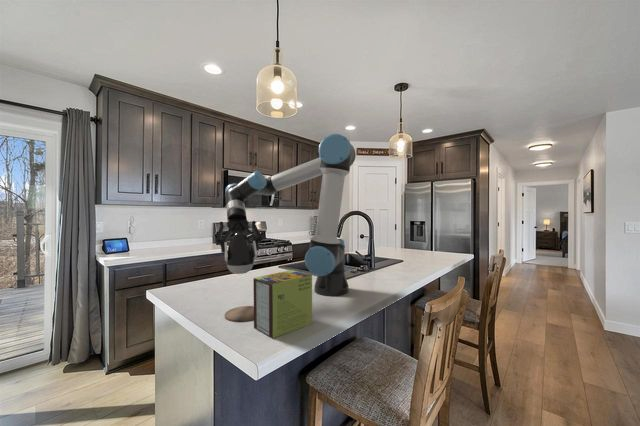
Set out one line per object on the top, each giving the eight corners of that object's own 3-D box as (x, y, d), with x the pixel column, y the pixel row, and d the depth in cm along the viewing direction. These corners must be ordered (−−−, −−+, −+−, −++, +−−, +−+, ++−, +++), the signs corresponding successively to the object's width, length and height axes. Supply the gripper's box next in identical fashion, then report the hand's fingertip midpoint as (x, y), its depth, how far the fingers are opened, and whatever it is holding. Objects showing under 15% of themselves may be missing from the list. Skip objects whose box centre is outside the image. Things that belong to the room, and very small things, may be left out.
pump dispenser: (246, 276, 97) (246, 233, 97) (220, 274, 100) (219, 232, 99) (259, 269, 107) (259, 230, 107) (235, 268, 109) (234, 230, 109)
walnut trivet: (264, 306, 103) (264, 305, 103) (263, 320, 90) (263, 318, 90) (228, 308, 101) (228, 307, 101) (221, 323, 88) (221, 321, 88)
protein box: (313, 323, 88) (312, 274, 88) (272, 339, 77) (272, 283, 77) (292, 314, 95) (292, 269, 95) (252, 328, 84) (252, 277, 84)
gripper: (262, 219, 121) (270, 261, 107) (207, 220, 113) (208, 266, 99) (264, 206, 116) (273, 249, 102) (207, 207, 108) (208, 253, 93)
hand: (241, 257), depth 100 cm, fingers closed on pump dispenser, 10 cm apart
